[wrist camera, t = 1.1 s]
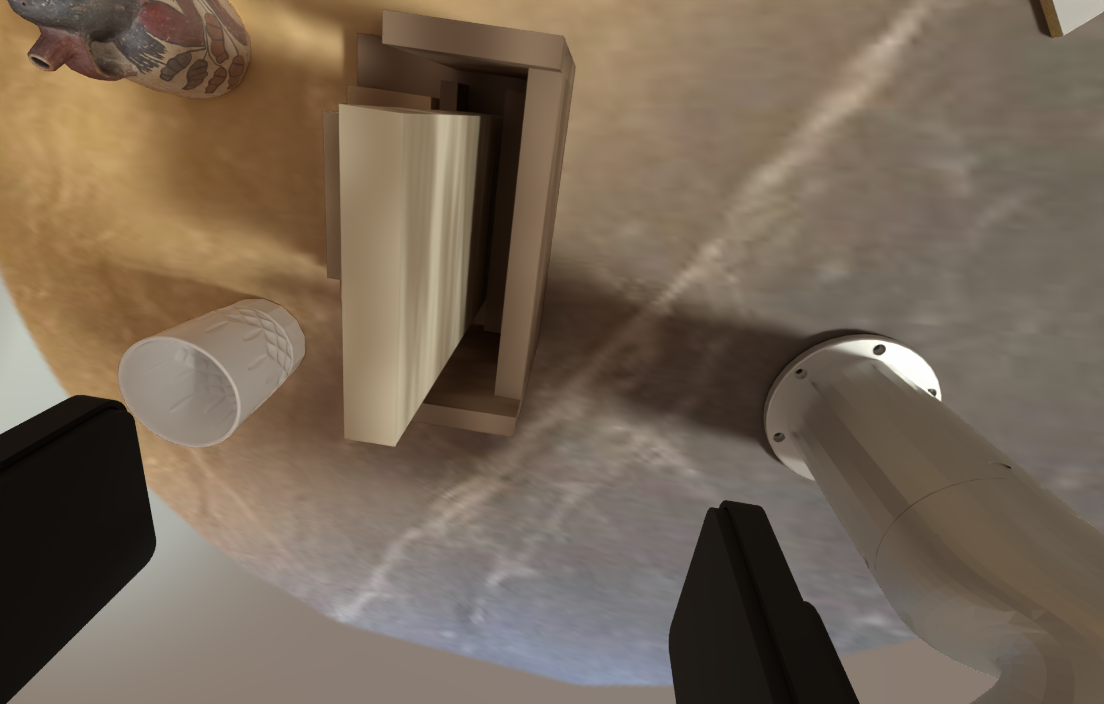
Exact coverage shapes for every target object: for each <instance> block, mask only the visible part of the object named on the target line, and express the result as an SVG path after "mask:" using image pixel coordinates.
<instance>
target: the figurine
mask: <svg viewBox="0 0 1104 704" xmlns="http://www.w3.org/2000/svg"><path fill="white" fill-rule="evenodd" d="M8 2H9V4H10V6H11V8H12V9H13V11H14V12H16V13H17V14H18V15H20V16H21V17H22V18H24V19H26V20H28V21H30V22H32V23H34V24H36V25H37V26H39V29H40V31H41V35H40V37H39V39H38V40H37V42H36V43H35V44H34V45H33V47H32V48H31V49H30V51H29V52H28V53H27V54H28V57H29V60H30V61H31V62H32V64H33V65H35V66H36V67H37V68H39V69H41V70H44V71H56V70H57V69H58V68H59V67H61V66H62V65H63V64H64V63H65V64H66V65H67V66H68V67H69V68H70V69H71V70H74V71H76V72H78V73H80V74H83V75H85V76H87V77H90V78H94V79H98V80H106V81H117V80H120V79H122V78H126V79H129V80H131V81H133V82H136V83H138V84H140V85H143V86H145V87H148V88H150V89H153V90H156V91H160V92H165V93H169V94H173V95H177V96H181V97H186V98H215V97H218V96H220V95H223V94H225V93H227V92H229V91H231V90H232V89H233V88H235V87H236V86H237V85H239V84H240V83H241V81H242V79H243V76H244V74H245V72H246V70H247V67H248V65H249V63H250V58H251V43H250V37H249V34H248V33H247V32H246V30H245V27H244V25H243V22H242V20H241V18H240V16H239V15H238V14H237V12H236V11H235V9H234V8H233V6H232V5H231V4H230V3H229V2H228V0H8ZM94 58H95V59H94Z"/></svg>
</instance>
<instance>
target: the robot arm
mask: <svg viewBox="0 0 1104 704" xmlns="http://www.w3.org/2000/svg"><path fill="white" fill-rule="evenodd" d="M875 346H876V347H875ZM799 369H800V370H799ZM797 370H799V371H798V372H796V371H797ZM763 421H764V430H765V433H766V436H767V439H768V441H769V444H770V446H771V447H772V449H773V451H774V453H775V454H776V456H777V457H778V458H779V459H780V460H781V462H782V463H783V464H784V465H785V466H787V467H788V468H789V469H790V470H792V471H793V472H794V473H796V474H798V475H800V476H802V477H804V478H806V479H809V480H813V481H816V482H817V484H818V486H819V487H820V489H821V491H822V492H823V494H824V496H825V497H826V499H827V500H828V502H829V504H830V505H831V507H832V509H833V510H834V512H835V514H836V515H837V517H838V519H839V520H840V522H841V524H842V525H843V527H844V528H845V530H846V532H847V533H848V535H849V537H850V538H851V540H852V542H853V543H854V545H855V547H856V548H857V550H858V552H859V553H860V555H861V557H862V558H863V560H864V561H865V563H866V565H867V566H868V568H869V570H870V571H871V573H872V575H873V576H874V578H875V580H876V581H877V583H878V584H879V586H880V588H881V589H882V591H883V593H884V594H885V596H886V598H887V599H888V601H889V602H890V604H891V606H892V607H893V609H894V610H895V612H896V613H897V614H898V616H899V617H900V618H901V620H902V621H903V622H904V623H905V624H906V625H907V626H908V627H909V629H910V630H911V631H912V632H913V633H914V634H916V635H917V636H918V637H919V638H920V639H922V640H923V641H924V642H925V643H927V644H928V645H929V646H931V647H932V648H934V649H935V650H937V651H938V652H940V653H942V654H944V655H946V656H948V657H949V658H951V659H953V660H955V661H957V662H959V663H961V664H964V665H966V666H968V667H970V668H973V669H975V670H978V671H980V672H982V673H985V674H988V675H990V676H993V677H996V678H999V680H998V681H997V682H996V684H995V685H994V686H993V687H992V688H991V689H989V690H988V691H987V692H985V693H984V694H982V695H981V696H980V697H978V698H977V699H976V700H974V701H973V702H971V703H970V704H1104V534H1103V533H1102V532H1100V531H1099V530H1098V529H1096V528H1095V527H1094V526H1093V525H1091V524H1090V523H1089V522H1088V521H1086V520H1085V519H1084V518H1083V517H1082V516H1080V515H1079V514H1078V513H1077V512H1075V511H1074V510H1073V509H1072V508H1070V507H1069V506H1068V505H1067V504H1066V503H1064V502H1063V501H1062V500H1061V499H1059V498H1058V497H1057V496H1056V495H1054V494H1053V493H1052V492H1051V491H1050V490H1048V489H1047V488H1046V487H1045V486H1043V485H1042V484H1041V483H1040V482H1039V481H1037V480H1036V479H1035V478H1034V477H1032V476H1031V475H1030V474H1029V473H1028V472H1026V471H1025V470H1024V469H1023V468H1021V467H1020V466H1019V465H1018V464H1017V463H1015V462H1014V461H1013V460H1012V459H1010V458H1009V457H1008V456H1007V455H1006V454H1004V453H1003V452H1002V451H1001V450H999V449H998V448H997V447H996V446H995V445H993V444H992V443H991V442H990V441H988V440H987V439H986V438H985V437H984V436H982V435H981V434H980V433H979V432H977V431H976V430H975V429H974V428H973V427H971V426H970V425H969V424H968V423H966V422H965V421H964V420H963V419H961V418H960V417H959V416H958V415H957V414H955V413H954V412H953V411H952V410H950V409H949V408H948V407H947V406H946V405H944V404H943V403H942V393H941V388H940V384H939V380H938V378H937V376H936V374H935V372H934V370H933V368H932V367H931V366H930V365H929V364H928V362H927V361H926V360H925V359H924V358H923V357H922V356H921V355H919V354H918V353H917V352H916V351H914V350H913V349H912V348H910V347H908V346H906V345H905V344H903V343H901V342H899V341H897V340H894V339H891V338H887V337H884V336H879V335H869V334H858V335H846V336H842V337H838V338H833V339H830V340H827V341H825V342H822V343H820V344H817V345H815V346H813V347H811V348H810V349H808V350H806V351H805V352H803V353H801V354H800V355H799V356H797V357H796V358H795V359H794V360H793V361H791V362H790V363H789V364H788V365H787V366H786V367H785V368H784V369H783V371H782V372H781V373H780V374H779V375H778V377H777V378H776V379H775V381H774V383H773V385H772V387H771V388H770V390H769V393H768V396H767V399H766V402H765V405H764V414H763ZM155 547H156V536H155V531H154V525H153V520H152V514H151V508H150V503H149V498H148V492H147V486H146V481H145V475H144V470H143V464H142V459H141V453H140V447H139V442H138V436H137V431H136V425H135V420H134V418H133V416H132V415H131V414H130V413H129V412H127V409H126V407H125V406H124V405H123V404H122V403H121V402H119V401H116V400H110V399H104V398H98V397H92V396H86V395H76V396H73V397H70V398H68V399H66V400H64V401H62V402H61V403H59V404H57V405H55V406H53V407H51V408H49V409H47V410H45V411H44V412H42V413H40V414H38V415H36V416H34V417H32V418H30V419H28V420H27V421H25V422H23V423H21V424H19V425H17V426H15V427H13V428H11V429H10V430H8V431H6V432H4V433H2V434H0V704H6V703H7V702H8V701H9V700H10V699H11V698H12V697H13V696H14V695H16V694H17V692H18V691H20V690H21V689H22V687H24V686H25V685H26V684H27V683H28V682H29V681H30V680H31V679H32V678H33V677H34V676H35V675H36V674H37V673H38V672H39V671H40V670H41V669H42V668H43V667H44V666H45V665H46V664H47V663H48V662H49V661H50V660H51V659H52V658H53V657H54V656H55V655H56V654H57V653H58V652H59V651H60V650H61V649H62V648H63V647H64V646H65V645H66V644H67V643H68V642H69V641H70V640H71V639H72V638H73V637H74V636H75V635H76V634H77V633H78V632H79V631H80V630H81V629H82V628H83V627H84V626H85V625H86V624H87V623H88V622H89V621H90V620H91V619H92V618H93V617H94V616H95V615H96V614H97V613H98V612H99V611H100V610H101V609H102V608H103V607H104V606H105V605H106V604H107V603H108V602H109V601H110V600H111V599H112V598H113V597H114V596H115V595H116V594H117V593H118V592H119V591H120V590H121V589H122V588H123V587H124V586H125V585H126V584H127V583H128V582H129V581H130V580H131V579H132V578H133V577H134V576H135V575H136V574H137V573H138V572H139V571H140V570H142V569H143V567H145V565H146V564H147V563H148V562H149V561H150V559H151V557H152V556H153V553H154V551H155ZM669 655H670V662H671V669H672V676H673V683H674V691H675V697H676V704H860V703H859V701H858V699H857V697H856V695H855V693H854V690H853V688H852V686H851V684H850V681H849V679H848V677H847V675H846V672H845V670H844V668H843V666H842V664H841V661H840V659H839V657H838V655H837V652H836V650H835V648H834V646H833V644H832V641H831V639H830V637H829V635H828V633H827V630H826V628H825V626H824V624H823V622H822V619H821V617H820V615H819V614H818V612H817V610H816V609H815V607H814V606H813V605H811V604H810V603H809V602H806V601H803V599H802V597H801V594H800V592H799V590H798V587H797V585H796V583H795V580H794V578H793V576H792V573H791V571H790V569H789V566H788V564H787V562H786V559H785V557H784V555H783V553H782V550H781V548H780V546H779V543H778V541H777V539H776V536H775V534H774V532H773V529H772V527H771V525H770V522H769V520H768V518H767V515H766V513H765V511H764V510H763V508H762V507H761V506H758V505H752V504H746V503H740V502H734V501H727V500H725V501H723V502H722V503H721V504H720V506H719V508H713V507H711V508H709V510H708V511H707V514H706V517H705V520H704V523H703V526H702V529H701V532H700V536H699V539H698V542H697V545H696V548H695V551H694V554H693V558H692V561H691V564H690V567H689V570H688V573H687V576H686V580H685V583H684V586H683V589H682V592H681V595H680V598H679V602H678V605H677V608H676V611H675V614H674V617H673V620H672V624H671V627H670V633H669Z"/></svg>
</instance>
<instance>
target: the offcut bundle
mask: <svg viewBox="0 0 1104 704" xmlns="http://www.w3.org/2000/svg"><path fill="white" fill-rule="evenodd" d="M347 104H349V105H365V106H381V107H397V108H413V109H429V110H439V107H440V98H433V97H426V96H420V95H413V94H406V93H399V92H392V91H386V90H379V89H372V88H365V87H358V86H351V85H347ZM323 139H324V176H325V213H326V250H327V278H332V279H339V280H340V289H341V301H342V270H341V209H340V148H339V112H332V111H323Z"/></svg>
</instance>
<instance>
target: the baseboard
mask: <svg viewBox="0 0 1104 704" xmlns="http://www.w3.org/2000/svg"><path fill="white" fill-rule="evenodd" d="M1040 3H1041V6H1042V9H1043V12H1044V15H1045V18H1046V21H1047V24H1048V27H1049V30H1050V33H1051V37H1052V38H1055V37H1060V36H1064V35H1065V34H1067V33H1069V32H1070V31H1072V30H1074V29H1075V28H1077V27H1079V26H1080V25H1082V24H1084V23H1085V22H1087V21H1089V20H1090V19H1092V18H1094V17H1095V16H1097V15H1099V14H1100V13H1102V12H1104V0H1040Z"/></svg>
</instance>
